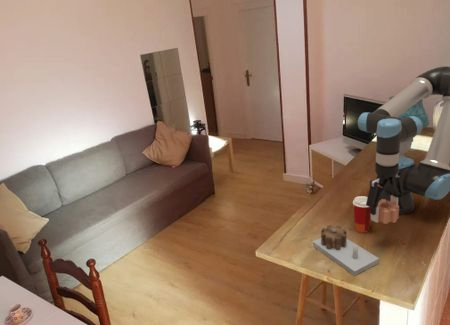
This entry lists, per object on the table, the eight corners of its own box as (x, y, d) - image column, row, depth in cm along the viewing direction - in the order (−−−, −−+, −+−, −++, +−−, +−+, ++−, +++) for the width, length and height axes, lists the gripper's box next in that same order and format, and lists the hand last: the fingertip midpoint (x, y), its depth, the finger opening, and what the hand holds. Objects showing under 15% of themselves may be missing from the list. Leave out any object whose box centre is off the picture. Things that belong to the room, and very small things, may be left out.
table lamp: (432, 173, 185) (441, 100, 170) (387, 177, 187) (392, 105, 172) (411, 157, 207) (417, 91, 193) (371, 161, 209) (374, 96, 194)
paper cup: (366, 222, 150) (368, 194, 144) (374, 232, 142) (376, 203, 137) (349, 225, 150) (349, 196, 144) (356, 235, 142) (356, 205, 137)
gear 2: (382, 207, 137) (382, 196, 135) (403, 217, 128) (404, 206, 127) (364, 215, 133) (365, 204, 131) (385, 226, 125) (386, 214, 123)
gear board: (335, 235, 144) (335, 221, 141) (378, 263, 125) (379, 247, 123) (312, 245, 139) (312, 231, 137) (354, 275, 121) (355, 259, 118)
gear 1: (334, 233, 142) (334, 220, 140) (351, 244, 134) (352, 230, 132) (316, 241, 138) (316, 228, 136) (333, 253, 130) (333, 239, 128)
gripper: (399, 151, 130) (395, 203, 138) (355, 168, 121) (355, 222, 130) (417, 156, 123) (412, 210, 132) (373, 174, 115) (371, 231, 123)
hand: (384, 216), depth 131 cm, fingers closed on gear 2, 10 cm apart
